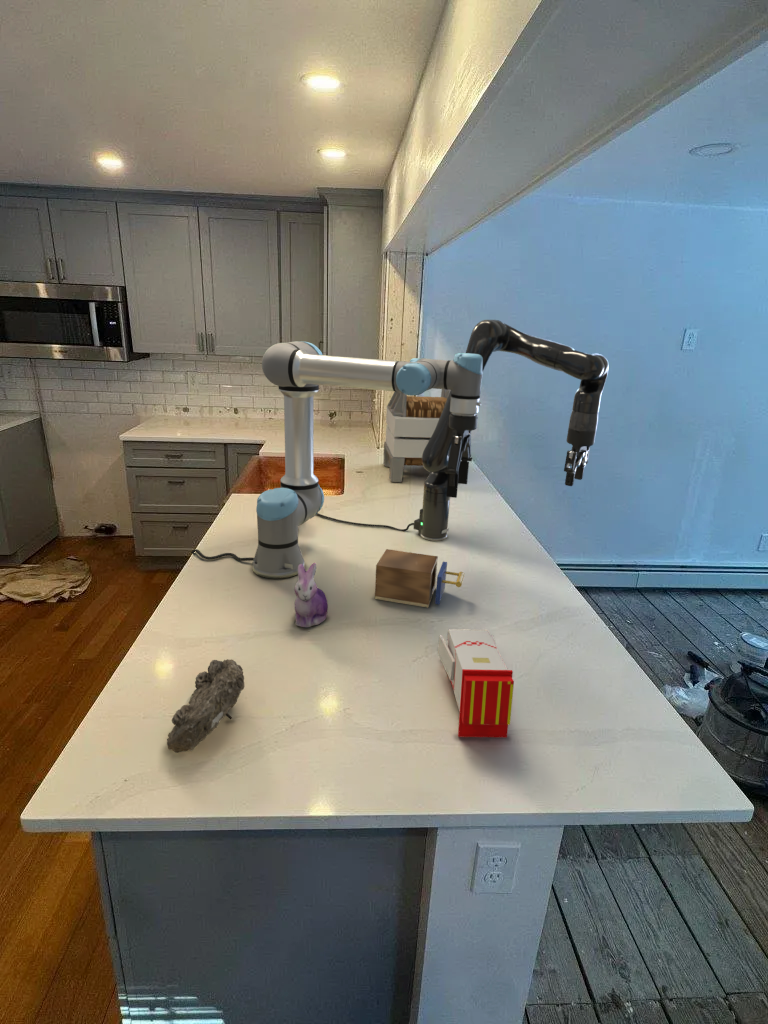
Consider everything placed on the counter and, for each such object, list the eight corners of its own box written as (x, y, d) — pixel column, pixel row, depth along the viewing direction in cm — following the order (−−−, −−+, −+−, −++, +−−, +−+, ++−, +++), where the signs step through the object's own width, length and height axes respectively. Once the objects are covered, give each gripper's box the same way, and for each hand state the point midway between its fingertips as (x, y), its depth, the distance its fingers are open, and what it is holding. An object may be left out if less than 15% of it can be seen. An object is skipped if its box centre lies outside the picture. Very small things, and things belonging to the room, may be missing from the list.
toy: (488, 613, 130) (523, 677, 101) (484, 667, 133) (517, 744, 104) (435, 612, 130) (455, 676, 101) (432, 666, 133) (451, 743, 103)
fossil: (192, 660, 117) (244, 628, 112) (224, 691, 120) (276, 661, 115) (142, 746, 98) (202, 712, 93) (182, 779, 101) (242, 748, 96)
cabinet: (435, 588, 162) (437, 556, 158) (428, 607, 151) (431, 573, 148) (384, 581, 165) (386, 549, 162) (374, 598, 155) (376, 565, 151)
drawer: (463, 590, 159) (465, 564, 156) (458, 607, 150) (461, 580, 147) (398, 580, 163) (399, 555, 160) (390, 596, 154) (391, 569, 151)
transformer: (382, 463, 289) (386, 382, 275) (445, 464, 293) (451, 384, 279) (390, 482, 257) (394, 392, 243) (460, 483, 261) (468, 394, 247)
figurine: (299, 632, 137) (299, 576, 132) (286, 613, 145) (285, 559, 140) (336, 624, 141) (336, 570, 136) (320, 605, 149) (321, 553, 144)
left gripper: (468, 423, 138) (460, 505, 146) (485, 408, 161) (478, 480, 168) (438, 419, 141) (432, 500, 148) (459, 405, 163) (453, 476, 170)
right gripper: (577, 422, 167) (568, 474, 173) (561, 428, 156) (552, 485, 162) (603, 425, 163) (593, 479, 169) (588, 433, 152) (578, 490, 158)
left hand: (457, 490), depth 158 cm, fingers open, 13 cm apart
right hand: (573, 482), depth 165 cm, fingers open, 8 cm apart
